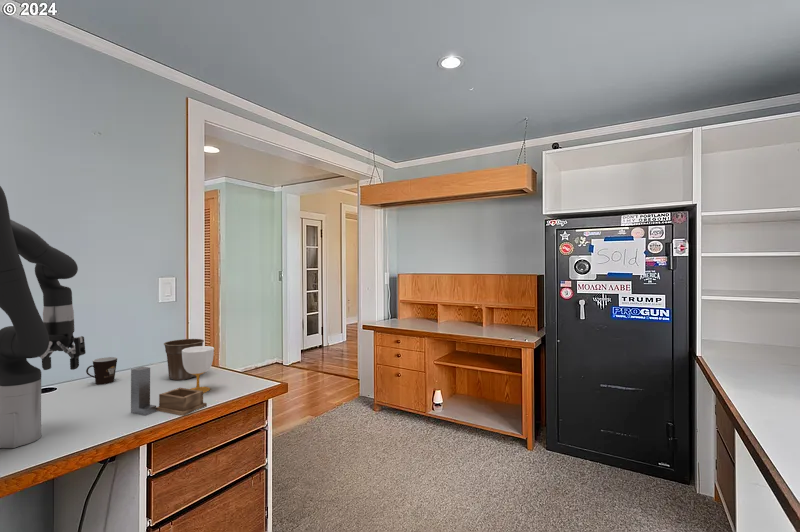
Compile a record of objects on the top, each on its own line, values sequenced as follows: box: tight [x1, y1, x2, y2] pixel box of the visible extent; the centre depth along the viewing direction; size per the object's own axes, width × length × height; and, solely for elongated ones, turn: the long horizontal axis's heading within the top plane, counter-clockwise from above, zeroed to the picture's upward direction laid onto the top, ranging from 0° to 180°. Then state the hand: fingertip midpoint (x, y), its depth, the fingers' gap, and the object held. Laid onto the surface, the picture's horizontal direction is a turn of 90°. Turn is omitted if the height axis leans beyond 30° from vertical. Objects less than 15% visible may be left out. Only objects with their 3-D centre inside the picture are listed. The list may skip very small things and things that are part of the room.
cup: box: [182, 345, 215, 394], centre depth 160 cm, size 12×12×17 cm
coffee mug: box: [85, 356, 118, 386], centre depth 170 cm, size 12×9×10 cm
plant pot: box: [163, 338, 205, 381], centre depth 181 cm, size 16×16×16 cm
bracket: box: [130, 366, 157, 416], centre depth 137 cm, size 4×7×15 cm, turn 69°
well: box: [156, 387, 208, 416], centre depth 141 cm, size 10×13×6 cm
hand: (60, 369), depth 127 cm, fingers open, 8 cm apart
